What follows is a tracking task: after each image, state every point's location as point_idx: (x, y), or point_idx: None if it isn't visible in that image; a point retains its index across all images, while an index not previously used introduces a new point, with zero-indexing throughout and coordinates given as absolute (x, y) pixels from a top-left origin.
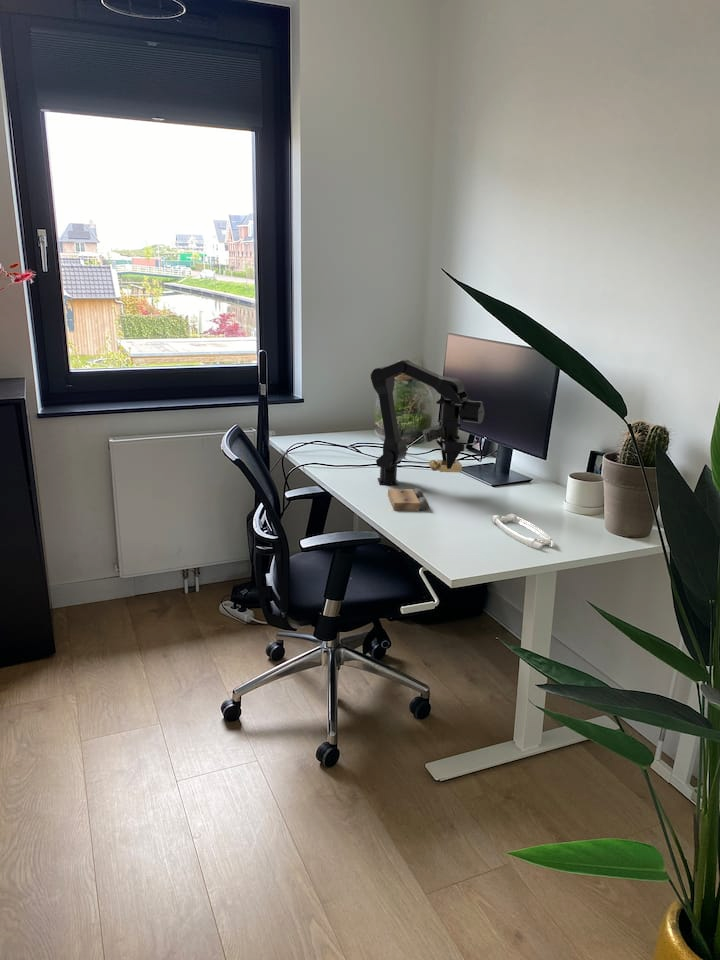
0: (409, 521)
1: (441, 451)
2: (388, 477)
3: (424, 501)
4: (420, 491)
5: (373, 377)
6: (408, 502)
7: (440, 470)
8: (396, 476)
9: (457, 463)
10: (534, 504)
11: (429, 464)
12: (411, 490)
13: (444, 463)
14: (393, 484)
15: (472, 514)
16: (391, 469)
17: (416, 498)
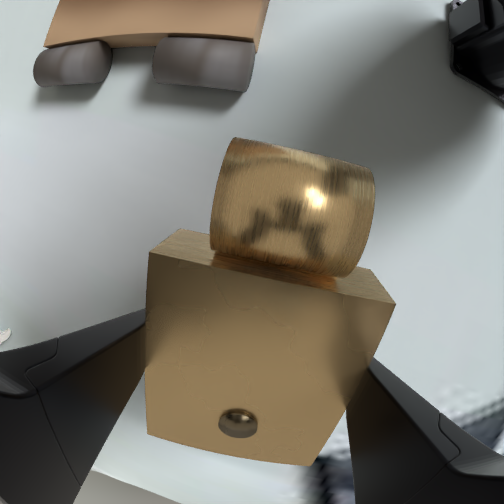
0: (8, 24)
1: (437, 425)
2: (463, 10)
3: (38, 63)
4: (181, 64)
5: None
6: (63, 1)
7: (173, 234)
8: (498, 77)
9: (204, 433)
10: (129, 457)
11: (332, 158)
12: (228, 25)
13: (211, 327)
14: (451, 48)
15: (18, 251)
16: (496, 13)
17: (93, 32)
